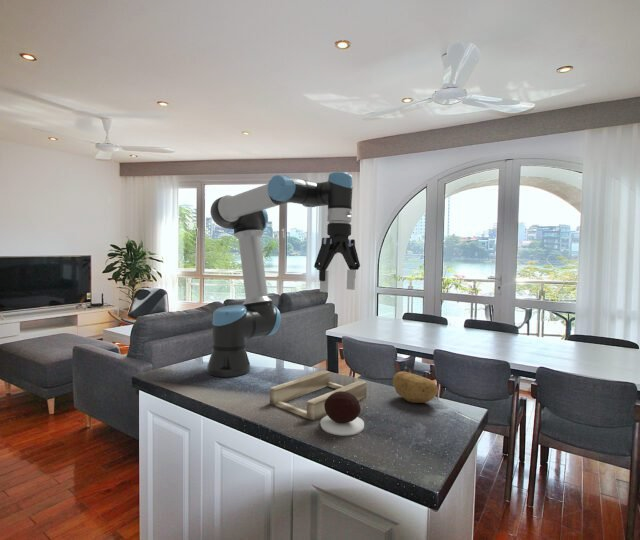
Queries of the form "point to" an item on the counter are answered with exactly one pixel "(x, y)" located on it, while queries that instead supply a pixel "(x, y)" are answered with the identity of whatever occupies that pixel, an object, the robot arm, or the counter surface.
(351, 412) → the dark brown rounded piece
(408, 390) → the potato
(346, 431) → the plate
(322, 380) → the cradle
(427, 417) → the counter surface
